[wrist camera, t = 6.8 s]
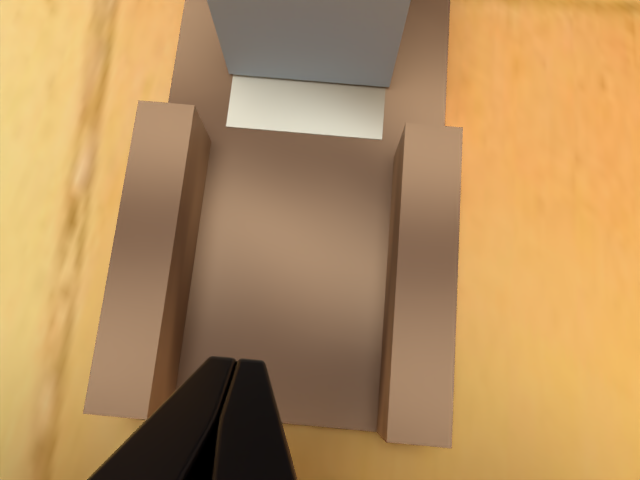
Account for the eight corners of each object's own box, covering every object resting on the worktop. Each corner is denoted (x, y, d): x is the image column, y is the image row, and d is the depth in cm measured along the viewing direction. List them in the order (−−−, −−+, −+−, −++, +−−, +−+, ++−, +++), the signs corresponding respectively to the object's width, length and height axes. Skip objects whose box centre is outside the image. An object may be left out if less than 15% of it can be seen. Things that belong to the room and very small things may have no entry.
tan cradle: (426, 434, 16) (451, 448, 13) (128, 405, 16) (83, 413, 13) (446, -21, 20) (470, -95, 17) (199, -41, 20) (177, -118, 17)
